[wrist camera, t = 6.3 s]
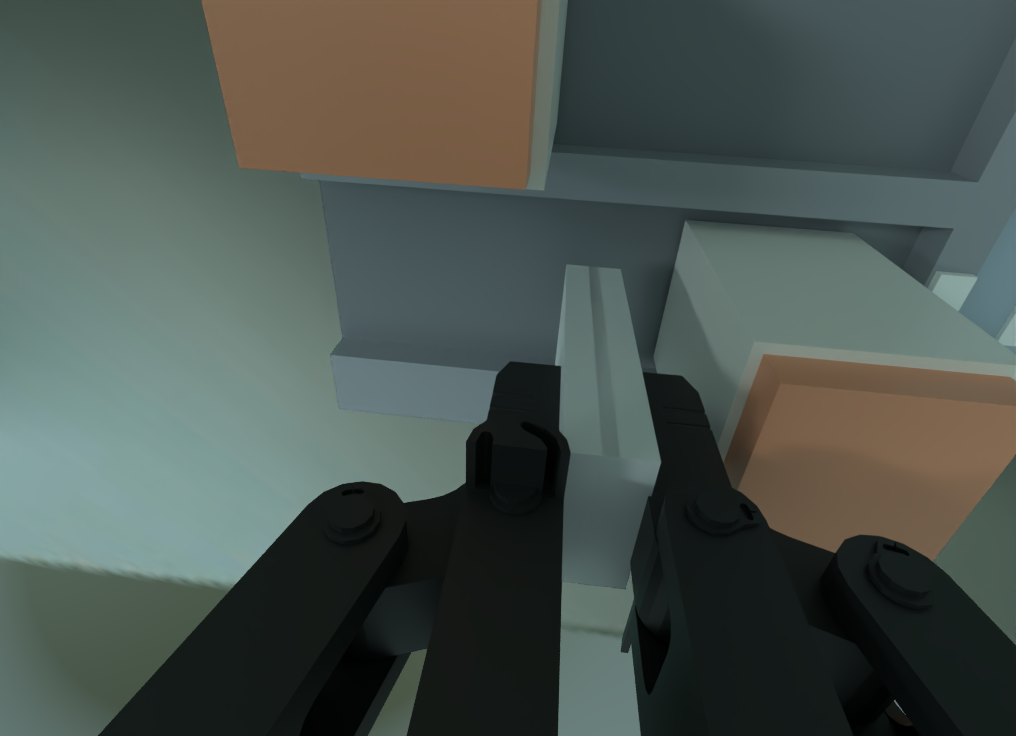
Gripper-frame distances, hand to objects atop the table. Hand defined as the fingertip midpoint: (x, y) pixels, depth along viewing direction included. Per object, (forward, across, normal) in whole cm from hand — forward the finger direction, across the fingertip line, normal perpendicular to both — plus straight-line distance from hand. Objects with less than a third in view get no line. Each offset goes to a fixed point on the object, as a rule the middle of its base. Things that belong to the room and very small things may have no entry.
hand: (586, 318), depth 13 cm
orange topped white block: (+2, +4, 0) cm, 5 cm away
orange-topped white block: (+2, -3, +6) cm, 7 cm away
